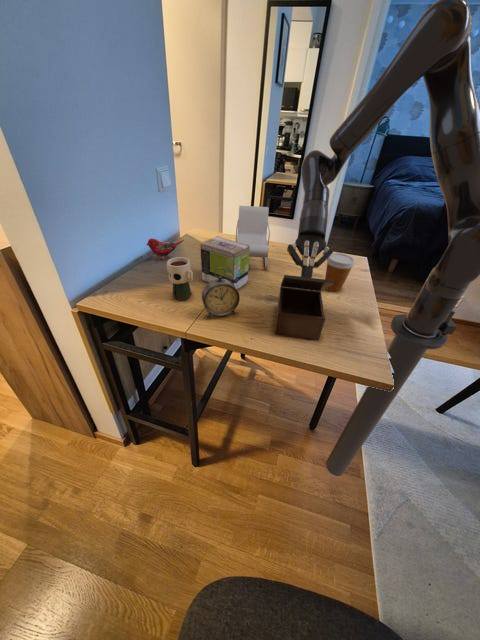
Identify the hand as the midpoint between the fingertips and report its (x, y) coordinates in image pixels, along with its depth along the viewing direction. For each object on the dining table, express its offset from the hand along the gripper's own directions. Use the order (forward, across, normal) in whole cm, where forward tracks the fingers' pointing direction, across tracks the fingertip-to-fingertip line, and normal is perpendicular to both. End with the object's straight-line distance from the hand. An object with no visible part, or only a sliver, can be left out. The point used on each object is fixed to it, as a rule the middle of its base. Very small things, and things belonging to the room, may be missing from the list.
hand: (305, 280), depth 71 cm
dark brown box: (+10, 0, +11) cm, 15 cm away
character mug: (+6, -39, +15) cm, 42 cm away
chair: (-20, -20, +42) cm, 50 cm away
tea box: (-4, -27, +25) cm, 37 cm away
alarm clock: (+11, -24, +10) cm, 28 cm away
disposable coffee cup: (-7, +14, +29) cm, 33 cm away
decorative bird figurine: (-14, -55, +35) cm, 67 cm away
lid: (+1, 0, +3) cm, 3 cm away
